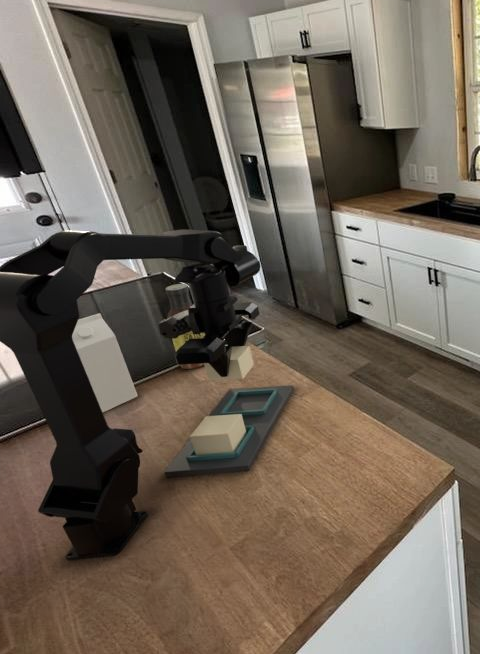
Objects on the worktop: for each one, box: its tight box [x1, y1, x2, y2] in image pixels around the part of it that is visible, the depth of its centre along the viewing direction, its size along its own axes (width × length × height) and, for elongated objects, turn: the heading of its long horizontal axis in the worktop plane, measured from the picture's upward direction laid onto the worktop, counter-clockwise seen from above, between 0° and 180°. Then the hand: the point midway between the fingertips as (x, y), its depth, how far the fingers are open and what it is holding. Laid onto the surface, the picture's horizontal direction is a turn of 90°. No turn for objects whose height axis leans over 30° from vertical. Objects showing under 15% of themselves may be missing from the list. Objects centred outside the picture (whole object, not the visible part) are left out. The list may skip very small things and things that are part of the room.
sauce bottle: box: [165, 283, 206, 370], centre depth 95 cm, size 7×6×20 cm
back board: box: [163, 384, 295, 478], centre depth 79 cm, size 22×13×2 cm, turn 8°
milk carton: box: [72, 313, 139, 413], centre depth 82 cm, size 7×7×19 cm
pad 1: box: [203, 345, 255, 382], centre depth 80 cm, size 5×6×4 cm
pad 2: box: [189, 414, 246, 455], centre depth 73 cm, size 5×6×4 cm
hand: (231, 368), depth 81 cm, fingers closed on pad 1, 5 cm apart
